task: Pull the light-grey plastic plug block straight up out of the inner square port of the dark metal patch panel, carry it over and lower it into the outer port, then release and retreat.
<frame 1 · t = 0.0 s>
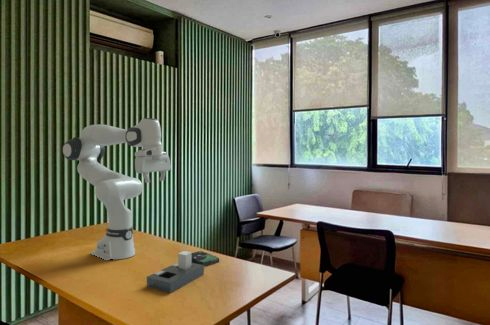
hand: (155, 181, 161), 39 cm above the table, tool pointing down, fingers open, 8 cm apart
plug: (184, 275, 148), resting in panel
disk drive: (201, 262, 167), on the table
panel: (176, 280, 143), on the table
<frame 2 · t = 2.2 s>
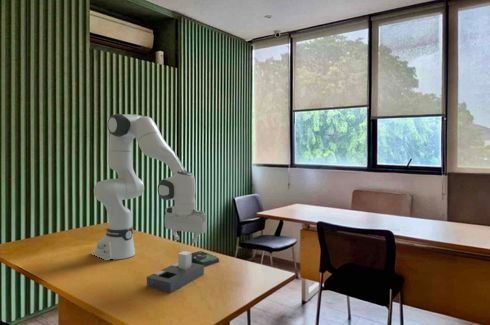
hand: (185, 241, 147), 15 cm above the table, tool pointing down, fingers open, 8 cm apart
nothing on the table moved.
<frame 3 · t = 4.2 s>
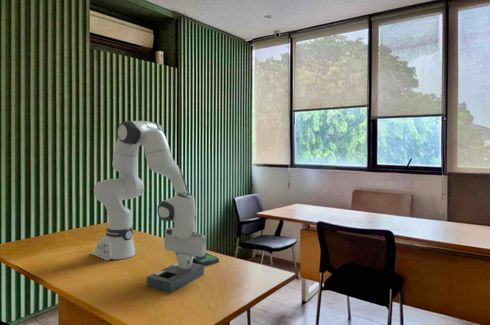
hand: (184, 263, 148), 6 cm above the table, tool pointing down, fingers closed on plug, 4 cm apart
plug: (184, 275, 148), resting in panel, touching gripper
everything else where it was.
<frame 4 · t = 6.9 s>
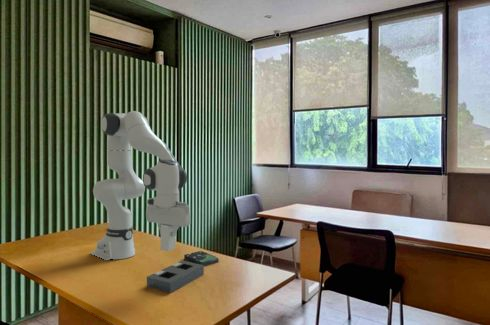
hand: (168, 235, 137), 20 cm above the table, tool pointing down, fingers closed on plug, 4 cm apart
plug: (168, 249, 137), point 15 cm above the table, touching gripper
everything else where it was.
when the fingers open (7 cm above the table, at t = 9.7 s): plug drops 1 cm, resting in panel.
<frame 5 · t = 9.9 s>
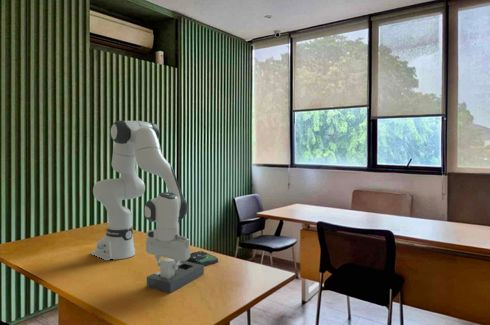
hand: (167, 267, 138), 7 cm above the table, tool pointing down, fingers open, 6 cm apart
plug: (167, 284, 138), resting in panel
everything else where it was.
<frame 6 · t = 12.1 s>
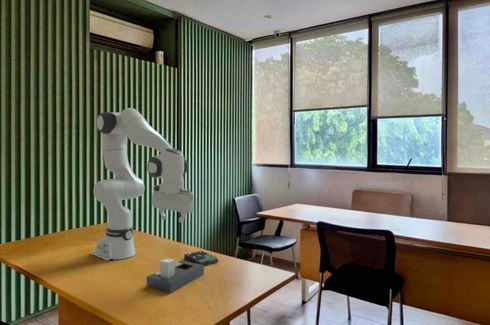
hand: (172, 220, 144), 24 cm above the table, tool pointing down, fingers open, 8 cm apart
nothing on the table moved.
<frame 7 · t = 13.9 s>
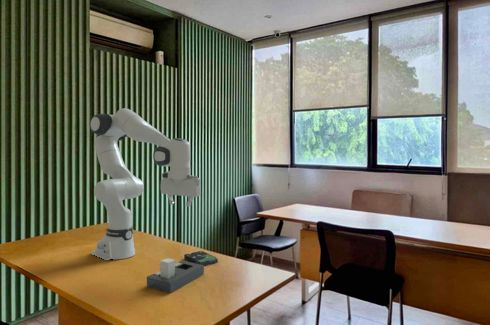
hand: (180, 205, 154), 29 cm above the table, tool pointing down, fingers open, 8 cm apart
nothing on the table moved.
at the end: plug 0.1 cm from the target spot on the panel, point 0.0 cm above the panel's base; plug tilted 0°; the gripper is holding nothing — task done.
